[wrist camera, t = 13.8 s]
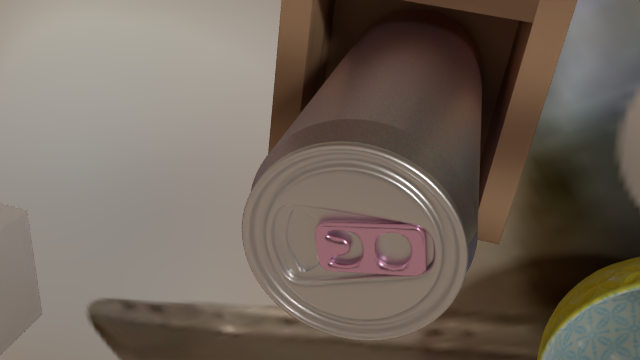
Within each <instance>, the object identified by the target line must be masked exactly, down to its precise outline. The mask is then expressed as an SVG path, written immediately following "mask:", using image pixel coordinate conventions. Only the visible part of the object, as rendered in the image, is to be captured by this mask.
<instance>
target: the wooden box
mask: <svg viewBox="0 0 640 360" xmlns="http://www.w3.org/2000/svg"><path fill="white" fill-rule="evenodd" d="M576 3H577V0H282V4H281V14H280V26H279V38H278V49H277V60H276V73H275V84H274V95H273V106H272V117H271V129H270V140H269V153H270V152H271V151H272V149H273V148H274V147H275V145H276V144H277V143H278V142H279V140H280V139H281V138H282V136H283V135H284V134H285V133H286V131H287V130H288V129H289V127H290V126H291V125H292V124H293V122H294V121H295V120H296V119H297V117H298V116H299V115H300V113H301V112H302V111H303V110H304V108H305V107H306V106H307V104H308V103H309V102H310V101H311V99H312V98H313V97H314V96H315V94H316V93H317V92H318V90H319V89H320V88H321V87H322V85H323V84H324V83H325V81H326V80H327V79H328V78H329V76H330V75H331V74H332V73H333V71H334V70H335V69H336V67H337V66H338V65H339V64H340V62H341V61H342V60H343V58H344V57H345V56H346V55H347V53H348V52H349V51H350V49H351V48H352V47H353V46H354V44H355V43H356V42H357V41H358V39H359V38H360V37H361V35H362V34H363V33H364V32H365V31H366V30H367V29H368V28H369V27H370V26H371V25H372V24H374V23H375V22H376V21H378V20H379V19H381V18H383V17H385V16H387V15H389V14H392V13H395V12H398V11H403V10H412V9H418V10H427V11H432V12H436V13H439V14H441V15H444V16H446V17H448V18H449V19H451V20H453V21H454V22H456V23H457V24H458V25H459V26H461V27H462V28H463V29H464V30H465V31H466V32H467V34H468V35H469V36H470V37H471V39H472V40H473V42H474V44H475V46H476V48H477V50H478V52H479V55H480V59H481V63H482V73H483V78H482V111H481V143H480V175H479V208H478V236H477V239H478V240H482V241H486V242H491V243H495V244H499V242H500V239H501V236H502V233H503V230H504V227H505V224H506V221H507V217H508V214H509V211H510V208H511V205H512V202H513V199H514V196H515V193H516V190H517V186H518V183H519V180H520V177H521V174H522V171H523V168H524V165H525V162H526V159H527V155H528V152H529V149H530V146H531V143H532V140H533V137H534V134H535V131H536V127H537V124H538V121H539V118H540V115H541V112H542V109H543V106H544V103H545V100H546V96H547V93H548V90H549V87H550V84H551V81H552V78H553V75H554V72H555V68H556V65H557V62H558V59H559V56H560V53H561V50H562V47H563V44H564V41H565V37H566V34H567V31H568V28H569V25H570V22H571V19H572V16H573V13H574V10H575V6H576ZM269 153H268V154H269Z"/></svg>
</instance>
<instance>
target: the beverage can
mask: <svg viewBox="0 0 640 360" xmlns="http://www.w3.org/2000/svg"><path fill="white" fill-rule="evenodd" d="M482 78H483V73H482V63H481V59H480V55H479V52H478V50H477V48H476V46H475V44H474V42H473V40H472V39H471V37H470V36H469V35H468V34H467V32H466V31H465V30H464V29H463V28H462V27H461V26H459V25H458V24H457V23H456V22H454V21H453V20H451V19H449V18H448V17H446V16H444V15H441V14H439V13H436V12H432V11H427V10H418V9H412V10H403V11H398V12H395V13H392V14H389V15H387V16H385V17H383V18H381V19H379V20H378V21H376V22H375V23H374V24H372V25H371V26H370V27H369V28H368V29H367V30H366V31H365V32H364V33H363V34H362V35H361V37H360V38H359V39H358V41H357V42H356V43H355V44H354V46H353V47H352V48H351V49H350V51H349V52H348V53H347V55H346V56H345V57H344V58H343V60H342V61H341V62H340V64H339V65H338V66H337V67H336V69H335V70H334V71H333V73H332V74H331V75H330V76H329V78H328V79H327V80H326V81H325V83H324V84H323V85H322V87H321V88H320V89H319V90H318V92H317V93H316V94H315V96H314V97H313V98H312V99H311V101H310V102H309V103H308V104H307V106H306V107H305V108H304V110H303V111H302V112H301V113H300V115H299V116H298V117H297V119H296V120H295V121H294V122H293V124H292V125H291V126H290V127H289V129H288V130H287V131H286V133H285V134H284V135H283V136H282V138H281V139H280V140H279V142H278V143H277V144H276V145H275V147H274V148H273V149H272V151H271V152H270V153H269V154H268V156H267V157H266V158H265V160H264V161H263V163H262V164H261V166H260V168H259V170H258V172H257V174H256V176H255V179H254V182H253V185H252V189H251V193H250V195H249V197H248V200H247V203H246V206H245V209H244V214H243V220H242V238H243V245H244V249H245V254H246V257H247V260H248V263H249V265H250V268H251V269H252V272H253V274H254V275H255V277H256V279H257V281H258V282H259V284H260V285H261V286H262V288H263V289H264V290H265V292H266V293H267V294H268V295H269V296H270V297H271V299H272V300H274V302H275V303H276V304H277V305H279V306H280V307H281V308H282V309H283V310H284V311H286V312H287V313H288V314H290V315H291V316H293V317H294V318H296V319H297V320H299V321H301V322H302V323H304V324H306V325H308V326H310V327H312V328H314V329H316V330H319V331H321V332H324V333H327V334H330V335H333V336H337V337H341V338H346V339H353V340H365V341H375V340H386V339H392V338H397V337H401V336H405V335H408V334H410V333H413V332H415V331H418V330H420V329H422V328H424V327H425V326H427V325H429V324H430V323H432V322H433V321H435V320H436V319H437V318H438V317H440V316H441V315H442V314H443V313H444V312H445V311H446V310H447V309H448V308H449V307H450V305H451V304H452V303H453V301H454V300H455V298H456V297H457V295H458V293H459V291H460V289H461V287H462V285H463V282H464V279H465V276H466V273H467V271H468V269H469V267H470V265H471V263H472V260H473V257H474V254H475V250H476V245H477V236H478V208H479V175H480V143H481V111H482Z"/></svg>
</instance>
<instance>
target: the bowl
mask: <svg viewBox="0 0 640 360" xmlns="http://www.w3.org/2000/svg"><path fill="white" fill-rule="evenodd" d="M537 360H640V257H637V258H632V259H628V260H625V261H621V262H618V263H615V264H612V265H609V266H606V267H604V268H602V269H600V270H598V271H596V272H594V273H593V274H591V275H590V276H588V277H586V278H585V279H584V280H582V281H581V282H580V283H578V284H577V285H576V286H575V287H574V288H573V289H572V290H570V291H569V292H568V293H567V294H566V296H565V297H564V298H563V299H562V300H561V301H560V302H559V304H558V305H557V307H556V308H555V310H554V312H553V314H552V315H551V317H550V319H549V321H548V323H547V325H546V327H545V329H544V332H543V335H542V340H541V343H540V346H539V350H538V356H537Z"/></svg>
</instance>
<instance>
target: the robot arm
mask: <svg viewBox="0 0 640 360" xmlns="http://www.w3.org/2000/svg"><path fill="white" fill-rule="evenodd" d="M41 315H42V311H41V304H40V296H39V290H38V282H37V276H36V269H35V262H34V255H33V248H32V241H31V235H30V228H29V220H28V214H27V211H26V210H23V209H19V208H15V207H12V206H8V205H4V204H0V355H1V354H2V353H3V352H4V351H5V350H6V349H7V348H8V347H9V346H10V345H11V344H12V343H13V342H14V341H15V340H16V339H17V338H18V337H19V336H20V335H21V334H22V333H23V332H24V331H25V330H26V329H27V328H28V327H29V326H30V325H31V324H32V323H33V322H34V321H35V320H36V319H37V318H38V317H39V316H41Z"/></svg>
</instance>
